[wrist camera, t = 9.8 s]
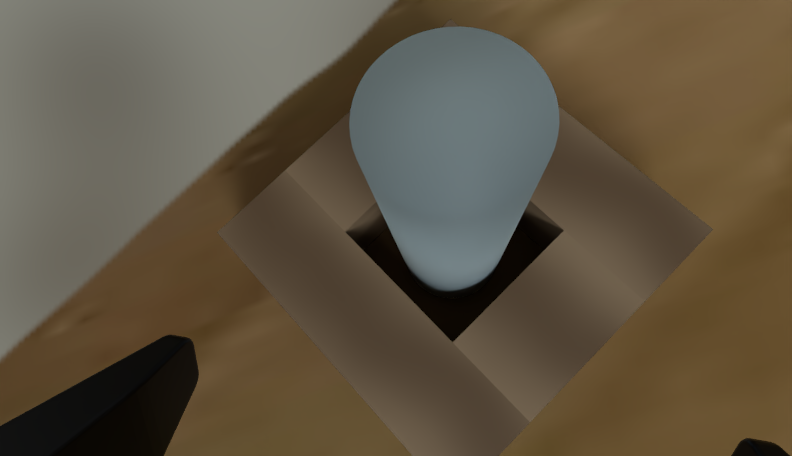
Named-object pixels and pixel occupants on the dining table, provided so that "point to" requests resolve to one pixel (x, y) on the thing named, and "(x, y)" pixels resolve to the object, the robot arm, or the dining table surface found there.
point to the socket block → (499, 323)
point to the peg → (453, 149)
